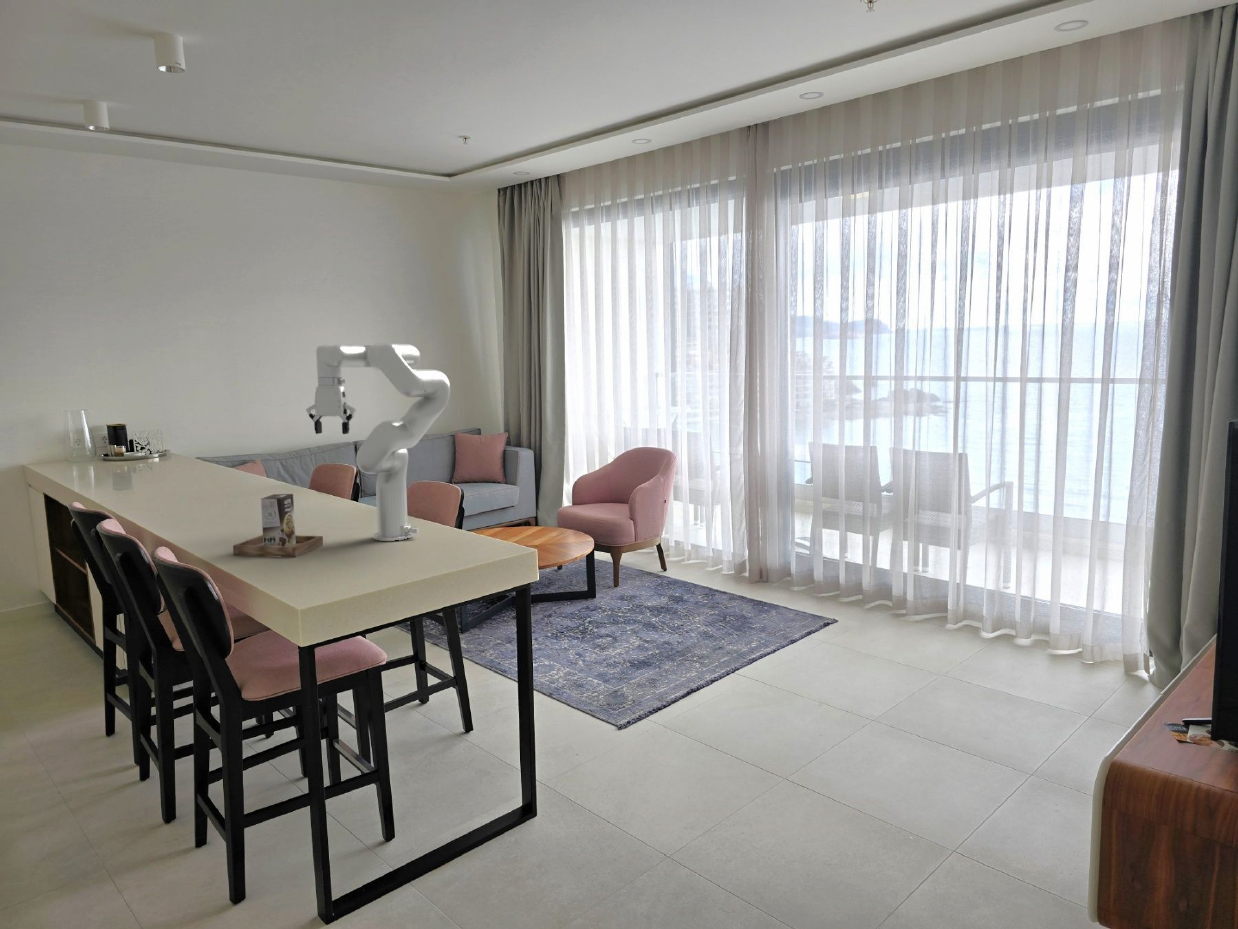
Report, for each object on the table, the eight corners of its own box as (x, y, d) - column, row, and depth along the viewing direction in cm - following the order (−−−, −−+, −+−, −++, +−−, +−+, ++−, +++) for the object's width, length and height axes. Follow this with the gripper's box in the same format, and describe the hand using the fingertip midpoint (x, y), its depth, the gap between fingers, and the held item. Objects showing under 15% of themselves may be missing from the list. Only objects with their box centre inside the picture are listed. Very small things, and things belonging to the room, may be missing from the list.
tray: (323, 545, 256) (322, 536, 256) (295, 557, 240) (295, 547, 240) (264, 543, 259) (264, 534, 259) (233, 555, 243) (233, 545, 243)
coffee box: (283, 551, 245) (280, 498, 243) (262, 551, 245) (259, 498, 243) (296, 544, 254) (294, 493, 252) (276, 544, 254) (273, 493, 252)
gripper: (359, 382, 275) (361, 432, 277) (311, 382, 277) (314, 432, 280) (348, 383, 267) (350, 434, 270) (299, 382, 270) (302, 434, 272)
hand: (332, 433), depth 275 cm, fingers open, 9 cm apart
